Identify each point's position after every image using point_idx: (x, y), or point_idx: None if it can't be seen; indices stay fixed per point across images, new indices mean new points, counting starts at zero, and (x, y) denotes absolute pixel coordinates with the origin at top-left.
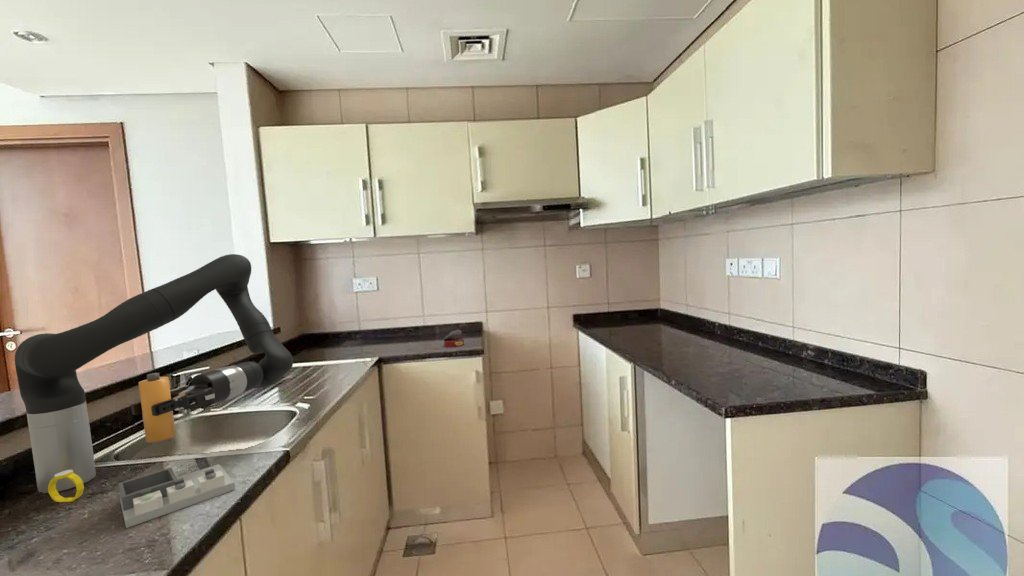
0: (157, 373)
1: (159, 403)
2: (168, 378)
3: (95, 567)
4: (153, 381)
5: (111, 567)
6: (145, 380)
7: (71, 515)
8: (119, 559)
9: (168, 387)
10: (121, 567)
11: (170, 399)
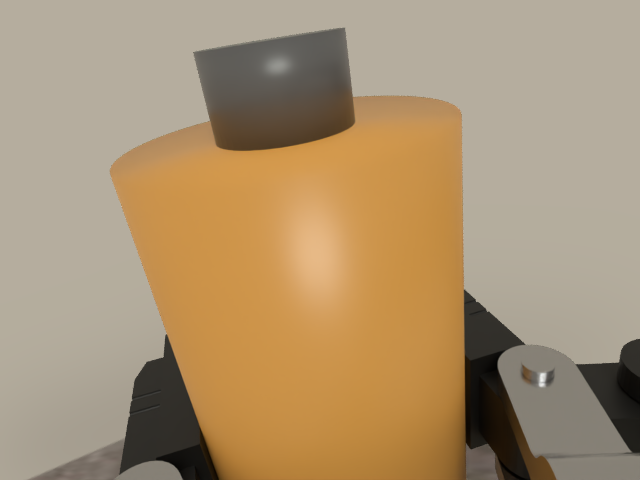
0: (232, 46)
1: (173, 357)
2: (157, 203)
3: (122, 439)
4: (198, 136)
5: (82, 456)
6: (383, 105)
7: (490, 453)
8: (90, 472)
9: (174, 322)
10: (56, 467)
11: (229, 467)
